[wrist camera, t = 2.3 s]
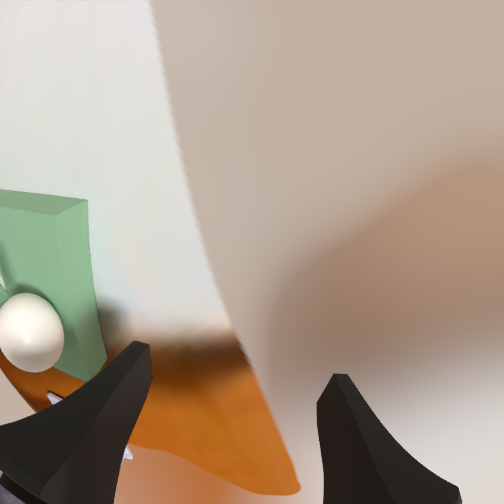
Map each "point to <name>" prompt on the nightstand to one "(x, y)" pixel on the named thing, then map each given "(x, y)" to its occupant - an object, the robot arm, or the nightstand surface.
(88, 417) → the robot arm
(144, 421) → the nightstand surface
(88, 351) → the green
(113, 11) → the nightstand surface
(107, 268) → the nightstand surface
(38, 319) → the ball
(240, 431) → the nightstand surface
